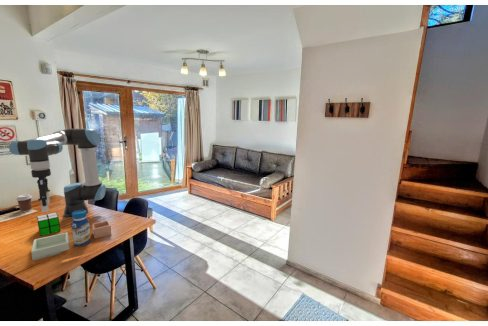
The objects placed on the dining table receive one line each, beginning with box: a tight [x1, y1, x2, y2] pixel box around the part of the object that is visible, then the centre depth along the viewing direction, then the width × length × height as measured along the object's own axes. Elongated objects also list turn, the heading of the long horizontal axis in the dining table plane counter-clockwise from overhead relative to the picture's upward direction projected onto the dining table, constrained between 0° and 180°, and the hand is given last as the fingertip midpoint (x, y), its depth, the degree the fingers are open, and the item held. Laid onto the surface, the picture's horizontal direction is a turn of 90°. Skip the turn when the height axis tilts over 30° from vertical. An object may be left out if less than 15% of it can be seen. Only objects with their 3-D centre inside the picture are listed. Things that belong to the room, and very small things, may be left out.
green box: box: [31, 232, 70, 261], centre depth 129 cm, size 15×15×5 cm
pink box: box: [91, 219, 112, 239], centre depth 146 cm, size 9×9×7 cm
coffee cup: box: [15, 193, 33, 213], centre depth 180 cm, size 9×9×12 cm
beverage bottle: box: [71, 210, 92, 247], centre depth 133 cm, size 8×8×20 cm
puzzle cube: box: [36, 212, 61, 237], centre depth 149 cm, size 10×10×10 cm
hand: (46, 207), depth 125 cm, fingers open, 13 cm apart
